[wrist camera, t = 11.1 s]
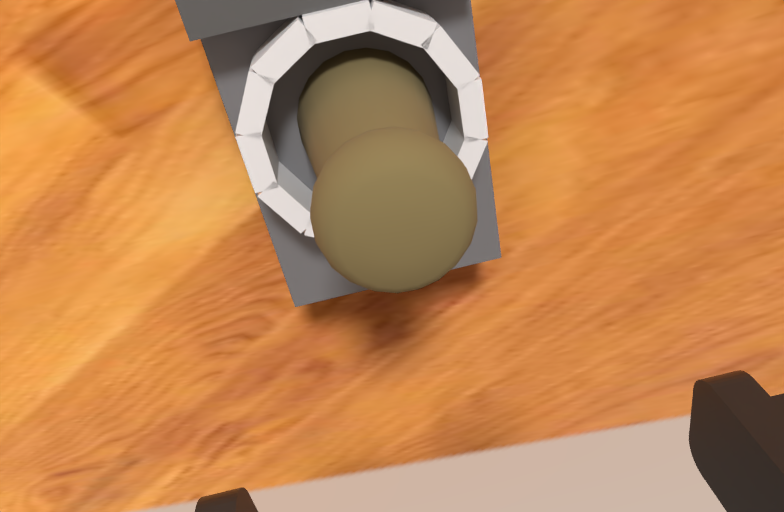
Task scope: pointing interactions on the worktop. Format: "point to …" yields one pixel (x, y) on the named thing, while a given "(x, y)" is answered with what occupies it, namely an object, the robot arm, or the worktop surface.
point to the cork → (383, 174)
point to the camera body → (286, 82)
